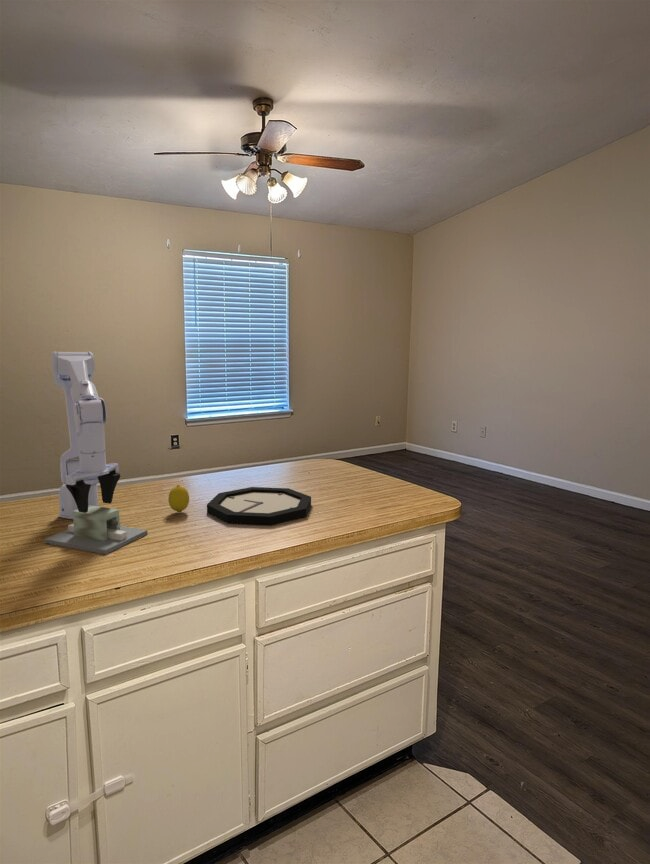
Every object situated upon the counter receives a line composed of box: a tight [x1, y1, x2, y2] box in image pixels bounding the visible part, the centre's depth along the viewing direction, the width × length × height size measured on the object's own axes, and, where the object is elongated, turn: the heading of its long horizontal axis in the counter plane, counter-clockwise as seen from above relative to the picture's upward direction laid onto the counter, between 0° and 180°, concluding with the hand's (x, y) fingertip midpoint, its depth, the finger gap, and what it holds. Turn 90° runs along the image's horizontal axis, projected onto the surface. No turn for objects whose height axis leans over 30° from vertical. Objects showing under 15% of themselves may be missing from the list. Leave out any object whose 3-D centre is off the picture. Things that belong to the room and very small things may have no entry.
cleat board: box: [44, 522, 148, 555], centre depth 127 cm, size 18×14×2 cm
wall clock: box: [206, 486, 312, 527], centre depth 152 cm, size 30×3×30 cm
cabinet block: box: [72, 505, 121, 541], centre depth 127 cm, size 10×5×6 cm, turn 69°
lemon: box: [168, 484, 190, 514], centre depth 147 cm, size 6×6×8 cm
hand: (95, 507), depth 126 cm, fingers open, 7 cm apart
